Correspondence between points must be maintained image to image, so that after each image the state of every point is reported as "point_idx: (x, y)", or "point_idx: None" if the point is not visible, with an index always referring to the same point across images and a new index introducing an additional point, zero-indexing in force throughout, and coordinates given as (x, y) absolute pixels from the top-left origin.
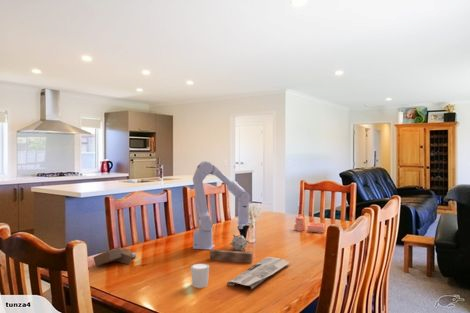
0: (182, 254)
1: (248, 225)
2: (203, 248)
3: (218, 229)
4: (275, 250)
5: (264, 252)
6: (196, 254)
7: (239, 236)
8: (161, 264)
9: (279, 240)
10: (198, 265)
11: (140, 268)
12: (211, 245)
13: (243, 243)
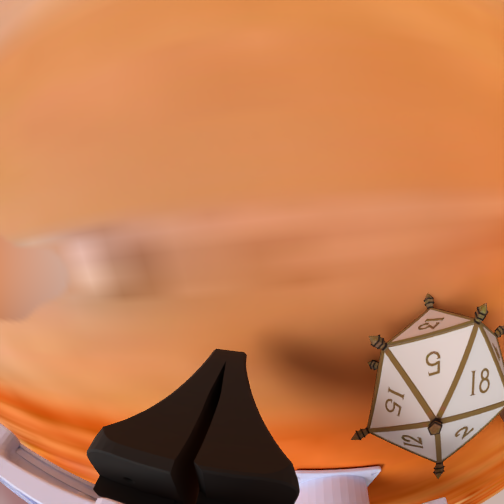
0: (417, 493)
1: (93, 457)
2: (367, 486)
3: (15, 418)
4: (369, 3)
5: (455, 108)
6: (431, 471)
7: (471, 426)
8: (487, 475)
9: (36, 43)
10: None
11: (492, 483)
12: (348, 482)
13: (493, 340)
